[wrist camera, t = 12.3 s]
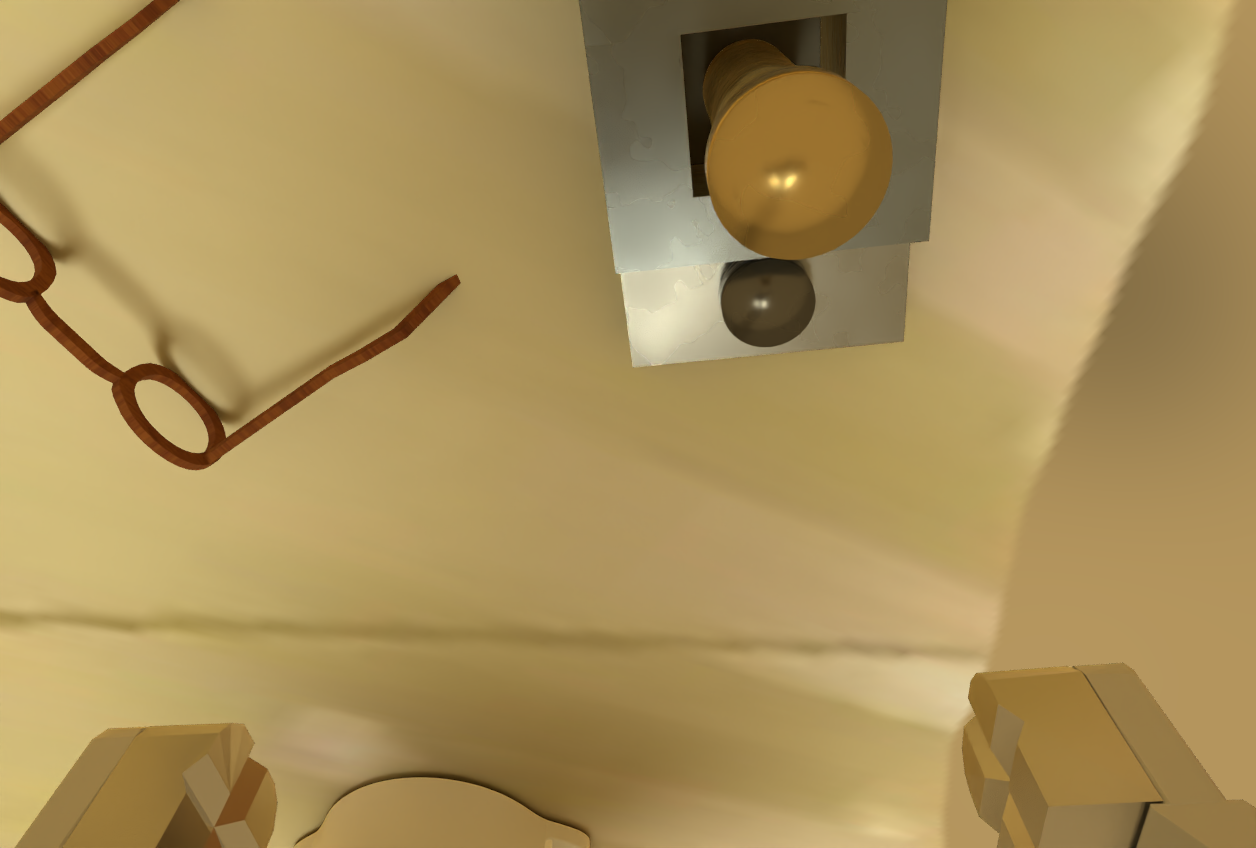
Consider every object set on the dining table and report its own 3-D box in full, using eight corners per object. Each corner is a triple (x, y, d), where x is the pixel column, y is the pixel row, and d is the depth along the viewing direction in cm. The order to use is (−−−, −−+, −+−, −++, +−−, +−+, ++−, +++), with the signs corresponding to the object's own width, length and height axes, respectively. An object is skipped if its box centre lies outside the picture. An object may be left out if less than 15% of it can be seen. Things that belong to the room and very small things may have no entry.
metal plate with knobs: (889, 319, 31) (929, 383, 27) (633, 344, 32) (630, 410, 28) (921, -286, 22) (990, -341, 18) (560, -229, 23) (538, -268, 18)
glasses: (-31, 172, 30) (-145, 213, 25) (215, -49, 26) (129, -44, 21) (236, 430, 35) (179, 499, 31) (470, 281, 31) (442, 337, 27)
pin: (808, 142, 28) (888, 250, 19) (692, 156, 28) (713, 268, 19) (807, 14, 26) (897, 62, 16) (683, 30, 26) (701, 86, 17)
